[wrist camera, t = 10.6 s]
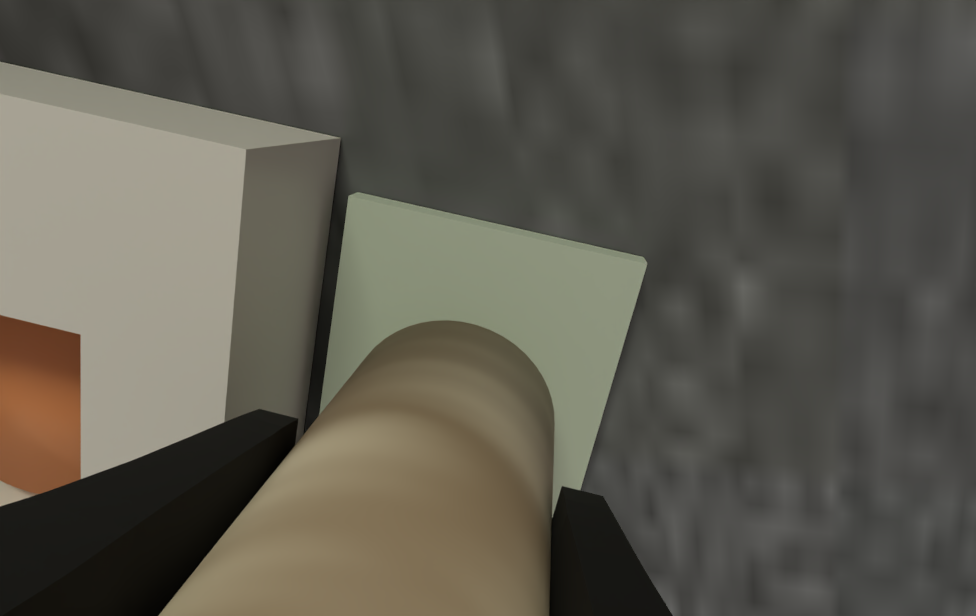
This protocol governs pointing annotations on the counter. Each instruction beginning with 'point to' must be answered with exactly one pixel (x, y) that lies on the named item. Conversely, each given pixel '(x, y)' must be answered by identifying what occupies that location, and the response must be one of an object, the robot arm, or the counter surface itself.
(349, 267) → the plate
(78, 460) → the button
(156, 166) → the block
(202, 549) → the robot arm
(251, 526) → the beige cylinder
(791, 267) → the counter surface
